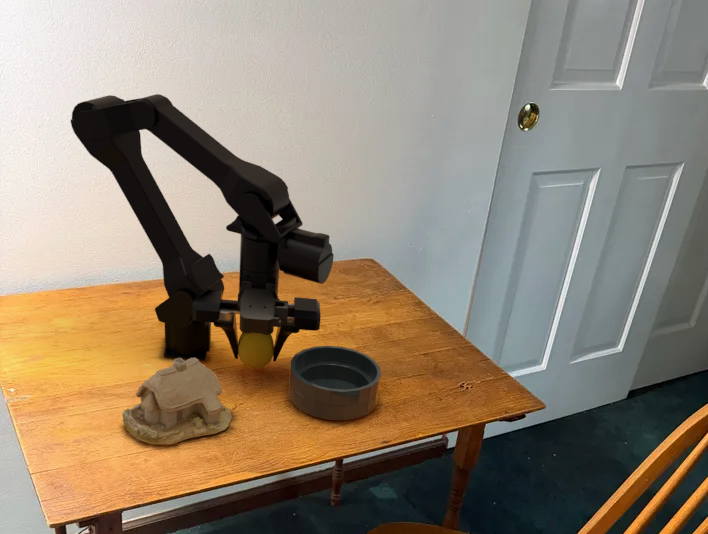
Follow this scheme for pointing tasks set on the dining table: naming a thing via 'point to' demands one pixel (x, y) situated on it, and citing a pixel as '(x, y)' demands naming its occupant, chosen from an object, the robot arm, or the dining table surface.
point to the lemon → (255, 350)
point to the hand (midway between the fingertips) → (255, 359)
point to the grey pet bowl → (334, 382)
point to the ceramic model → (178, 405)
